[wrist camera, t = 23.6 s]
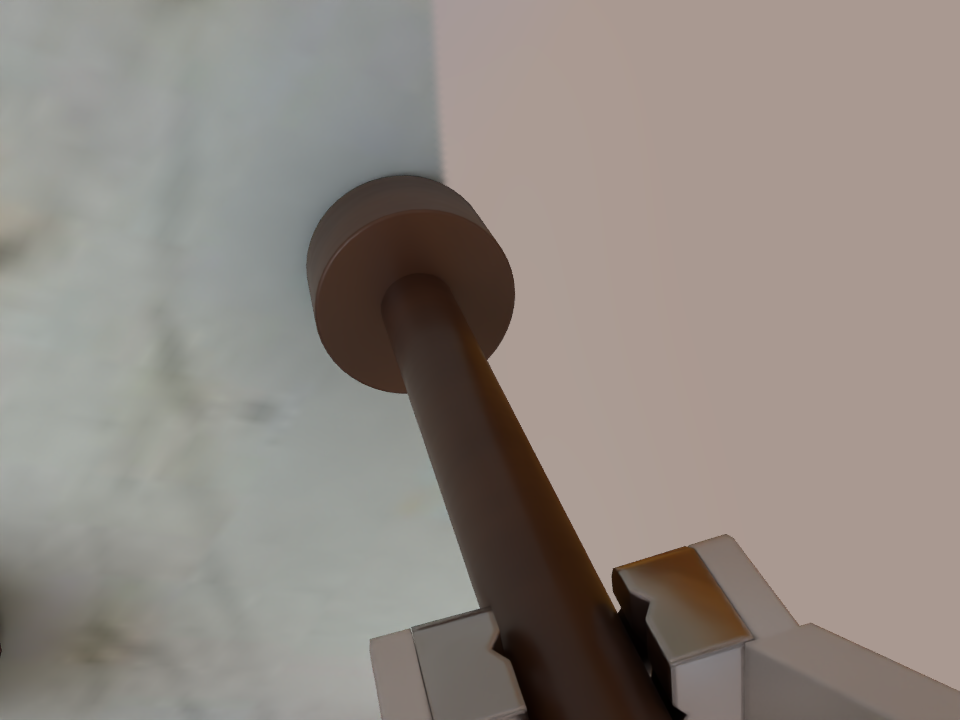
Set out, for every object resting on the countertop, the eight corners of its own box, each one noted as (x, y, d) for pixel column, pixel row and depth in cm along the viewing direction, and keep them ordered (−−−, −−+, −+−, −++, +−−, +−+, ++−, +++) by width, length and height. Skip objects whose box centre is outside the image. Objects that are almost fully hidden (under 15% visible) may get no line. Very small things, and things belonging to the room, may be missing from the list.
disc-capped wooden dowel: (284, 198, 20) (406, 914, 6) (474, 155, 21) (950, 730, 7) (330, 365, 22) (492, 1152, 9) (500, 321, 23) (898, 998, 9)
